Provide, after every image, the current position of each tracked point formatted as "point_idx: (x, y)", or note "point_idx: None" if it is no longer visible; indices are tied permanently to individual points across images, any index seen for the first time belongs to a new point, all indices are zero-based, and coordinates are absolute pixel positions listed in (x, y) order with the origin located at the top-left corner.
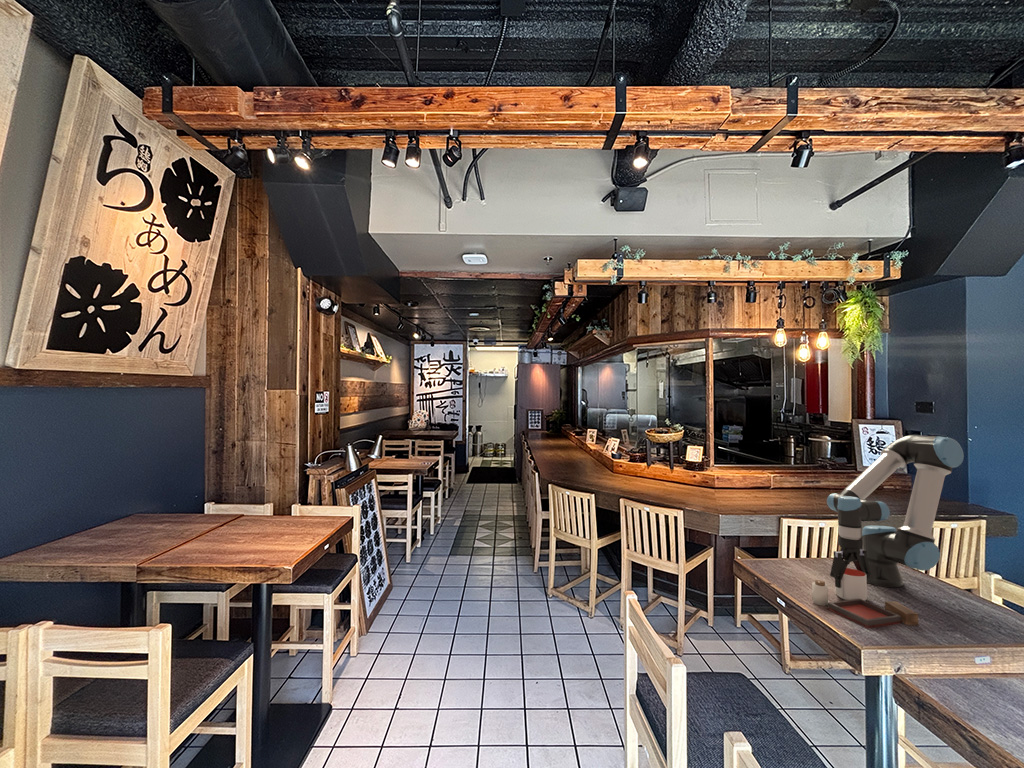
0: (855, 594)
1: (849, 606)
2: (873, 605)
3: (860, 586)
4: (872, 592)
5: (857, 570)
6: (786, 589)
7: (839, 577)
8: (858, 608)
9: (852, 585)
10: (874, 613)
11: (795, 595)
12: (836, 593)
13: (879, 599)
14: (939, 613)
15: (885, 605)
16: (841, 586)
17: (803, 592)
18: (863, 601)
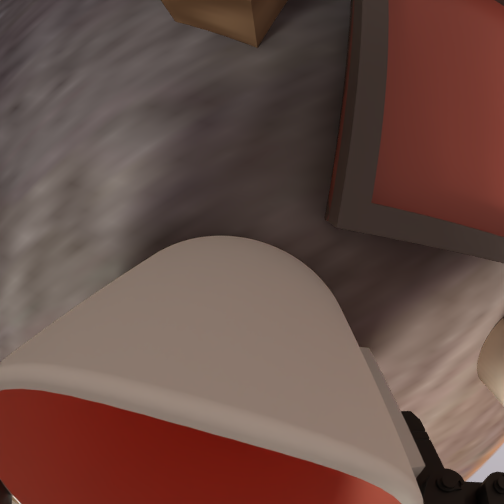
0: (323, 288)
1: (479, 215)
2: (384, 62)
3: (270, 296)
4: (11, 315)
5: (13, 489)
6: None
7: (462, 491)
8: (459, 156)
9: (365, 363)
10: (430, 47)
11: (484, 441)
12: None
13: (51, 228)
14: (5, 4)
15: (258, 16)
16: (396, 416)
17: None
18: (377, 163)
